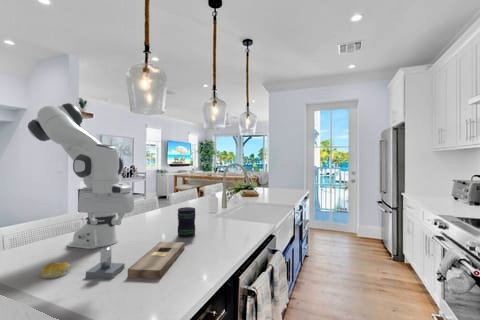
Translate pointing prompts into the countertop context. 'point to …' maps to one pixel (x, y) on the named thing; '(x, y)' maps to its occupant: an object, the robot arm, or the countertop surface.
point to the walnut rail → (156, 260)
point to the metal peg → (105, 258)
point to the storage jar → (186, 222)
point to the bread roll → (55, 270)
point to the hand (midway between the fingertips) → (106, 224)
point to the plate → (105, 271)
